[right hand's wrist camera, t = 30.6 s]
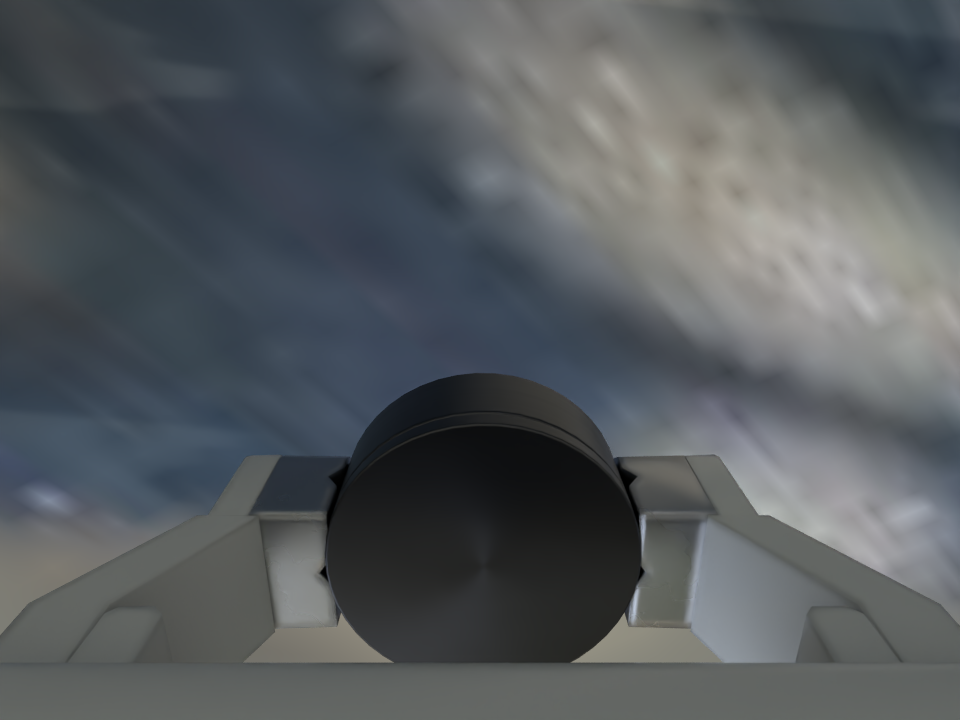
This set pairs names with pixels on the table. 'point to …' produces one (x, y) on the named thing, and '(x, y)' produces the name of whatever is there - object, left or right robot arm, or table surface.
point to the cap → (482, 527)
